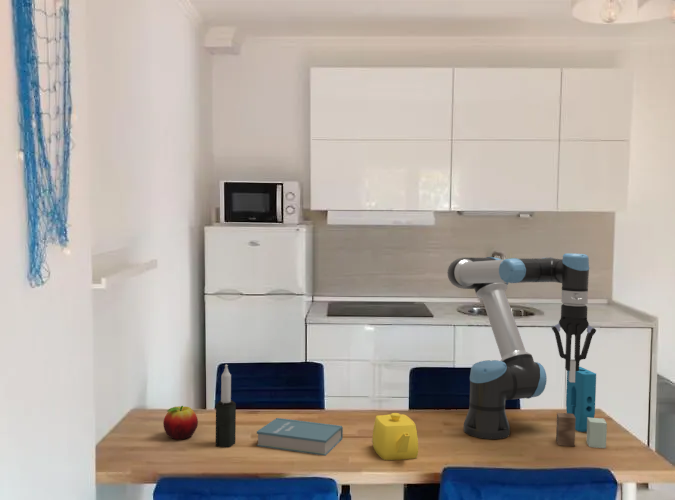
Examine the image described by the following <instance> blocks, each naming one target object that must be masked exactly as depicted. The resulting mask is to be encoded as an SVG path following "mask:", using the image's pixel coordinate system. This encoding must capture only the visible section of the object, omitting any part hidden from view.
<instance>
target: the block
mask: <svg viewBox="0 0 675 500" xmlns="http://www.w3.org/2000/svg"><path fill="white" fill-rule="evenodd" d="M565 390H566V392H565V393H566V396H565V397H566V398H565V401H566V402H565V408H566V413H570V414H574V416H575V418H576V421H575V431H577V432H581V433H582V432H583V433H584V432H585V433H587V417H589V418H595V415H596V396H597V395H596V392H597V391H596V390H597V373H596V372H594V371H591V370H589V369H587V368H584V367H583V366H579V371H575V383H573V382H569V371H567V370H566V389H565Z"/></svg>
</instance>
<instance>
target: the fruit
mask: <svg viewBox="0 0 675 500" xmlns="http://www.w3.org/2000/svg"><path fill="white" fill-rule="evenodd" d="M166 412H167V413H166V415H165V416H164V419H163V429H164V432H165V433H166V435H167V436H168V437H169V438H171V439H175V440H184V439H188V438H190V437H192V436H193V434H194V433H195V432H196V430H197V428H198V425H199V424H198V423H199V420H198V415H197V414H196V412H195V411H194V410H193V408H191V407H190V406H184V405H181V406H173V407H170V408H168V409H167V410H166Z"/></svg>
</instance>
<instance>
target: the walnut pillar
mask: <svg viewBox="0 0 675 500" xmlns="http://www.w3.org/2000/svg"><path fill="white" fill-rule="evenodd" d="M575 421H576V418H575V416H574V414H570V413H567V412H556V432H555V433H556V435H555V441H556V443H557V445H558V446H566V447H575V445H576V444H575V443H576V430H575Z"/></svg>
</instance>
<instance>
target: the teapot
mask: <svg viewBox="0 0 675 500" xmlns="http://www.w3.org/2000/svg"><path fill="white" fill-rule="evenodd" d="M371 442H372V446H373V449H374V452H375V453H376V454H377V455H378V456H379V458H381V459H382V460H384V461H399V460H400V461H401V460H413V459H417V458H418V455H419V439H418V432H417V426H416V423H415V422H414V421H413V419H412V418H410V417H409V416H408V415H406V414H401V413H398V412H392V413H390V414H389V413H388V414H383V415H380V414H378V415H376V416H375V419H374V424H373V428H372V439H371Z"/></svg>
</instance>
